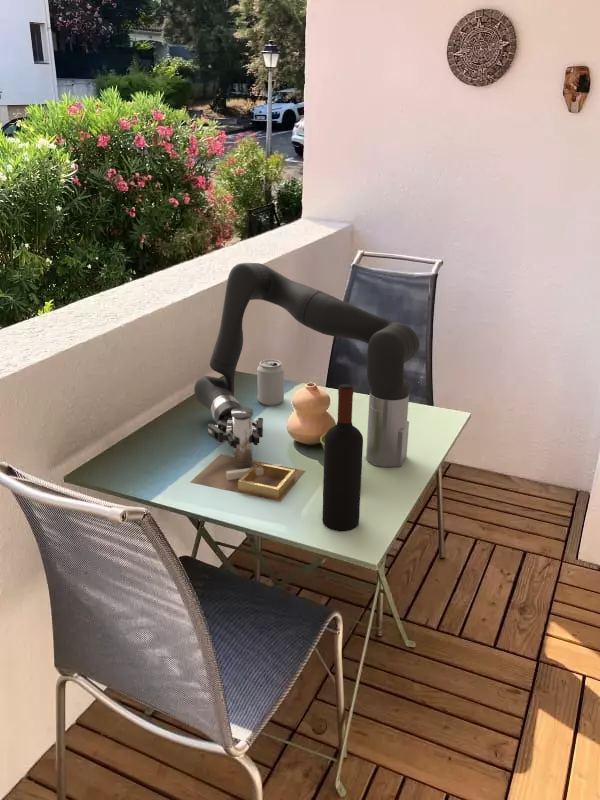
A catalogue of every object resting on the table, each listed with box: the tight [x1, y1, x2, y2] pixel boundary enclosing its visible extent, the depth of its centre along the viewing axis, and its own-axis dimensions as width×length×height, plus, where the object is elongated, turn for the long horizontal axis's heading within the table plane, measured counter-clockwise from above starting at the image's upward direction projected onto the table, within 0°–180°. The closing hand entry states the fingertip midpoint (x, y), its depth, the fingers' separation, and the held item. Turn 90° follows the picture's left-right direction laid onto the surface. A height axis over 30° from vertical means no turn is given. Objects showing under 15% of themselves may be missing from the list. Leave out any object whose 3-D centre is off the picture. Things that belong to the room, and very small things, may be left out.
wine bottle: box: [321, 383, 364, 533], centre depth 144 cm, size 8×8×30 cm
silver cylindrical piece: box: [231, 406, 254, 469], centre depth 167 cm, size 5×5×14 cm
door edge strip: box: [226, 463, 284, 480], centre depth 165 cm, size 1×13×2 cm, turn 108°
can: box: [256, 358, 285, 407], centre depth 206 cm, size 8×8×12 cm
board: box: [189, 454, 306, 503], centre depth 165 cm, size 22×15×1 cm
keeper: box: [238, 461, 295, 499], centre depth 161 cm, size 10×10×2 cm
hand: (245, 443), depth 165 cm, fingers closed on silver cylindrical piece, 4 cm apart
